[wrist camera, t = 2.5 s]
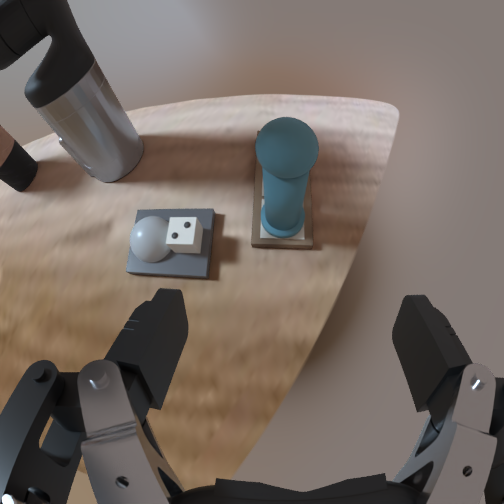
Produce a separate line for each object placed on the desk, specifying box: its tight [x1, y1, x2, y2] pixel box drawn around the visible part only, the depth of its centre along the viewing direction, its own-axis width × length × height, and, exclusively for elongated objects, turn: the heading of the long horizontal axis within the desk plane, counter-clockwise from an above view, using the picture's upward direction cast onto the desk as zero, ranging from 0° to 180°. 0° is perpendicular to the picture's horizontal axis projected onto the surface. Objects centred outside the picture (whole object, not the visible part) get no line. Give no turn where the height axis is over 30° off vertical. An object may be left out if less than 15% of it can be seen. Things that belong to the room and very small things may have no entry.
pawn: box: [255, 117, 319, 238], centre depth 24 cm, size 5×5×14 cm
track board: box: [251, 131, 313, 249], centre depth 33 cm, size 7×16×1 cm, turn 177°
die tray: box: [126, 209, 215, 278], centre depth 31 cm, size 10×8×6 cm
